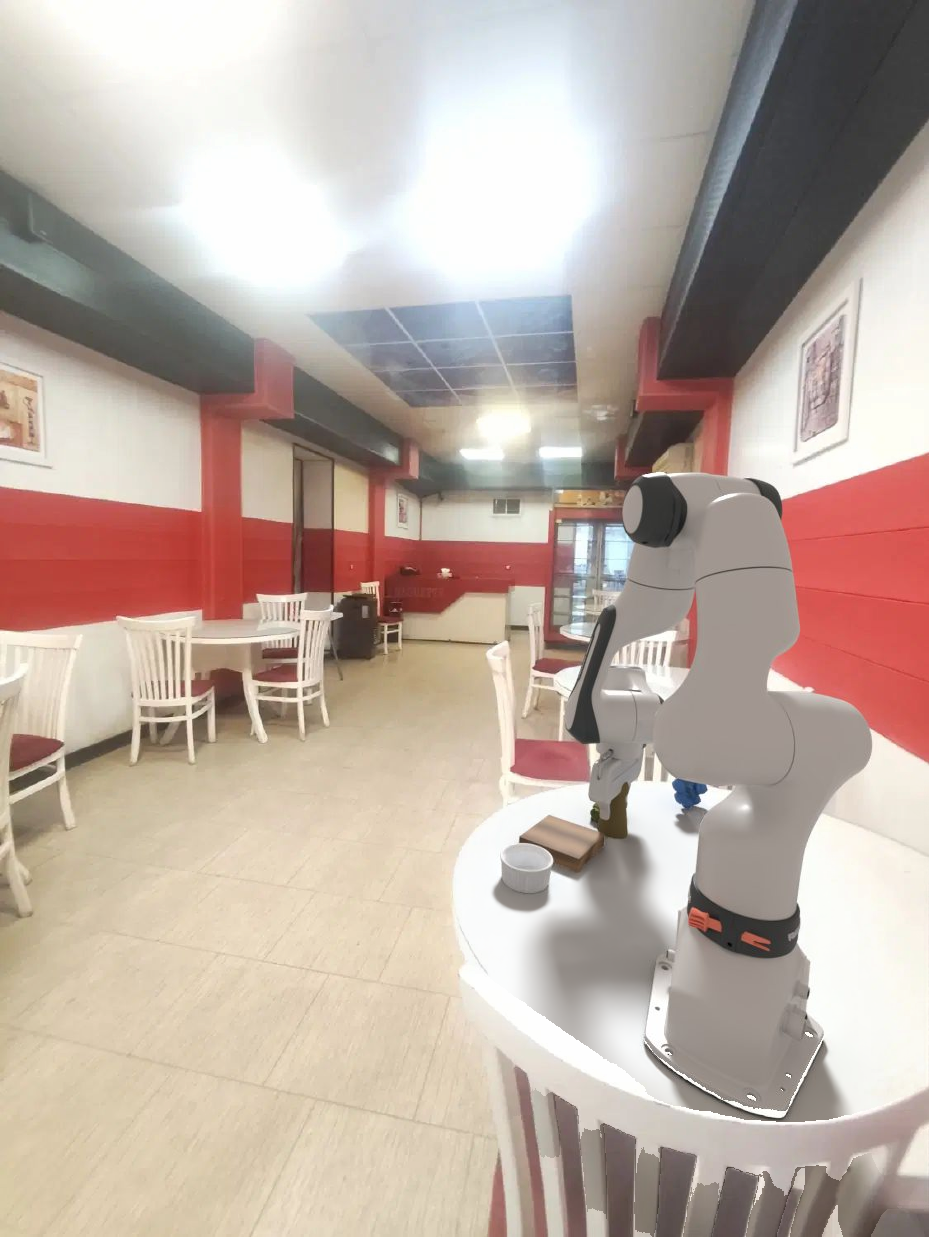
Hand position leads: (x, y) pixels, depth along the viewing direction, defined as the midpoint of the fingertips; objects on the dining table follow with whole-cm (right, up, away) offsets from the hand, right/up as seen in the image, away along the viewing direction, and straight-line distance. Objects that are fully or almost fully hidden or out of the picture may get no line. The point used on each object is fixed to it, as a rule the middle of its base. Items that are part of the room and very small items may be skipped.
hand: (613, 810), depth 110 cm
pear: (+1, -4, +7) cm, 8 cm away
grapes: (+21, -5, +12) cm, 25 cm away
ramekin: (-20, -6, -19) cm, 28 cm away
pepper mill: (0, -5, 0) cm, 5 cm away
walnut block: (-12, -5, -7) cm, 15 cm away
